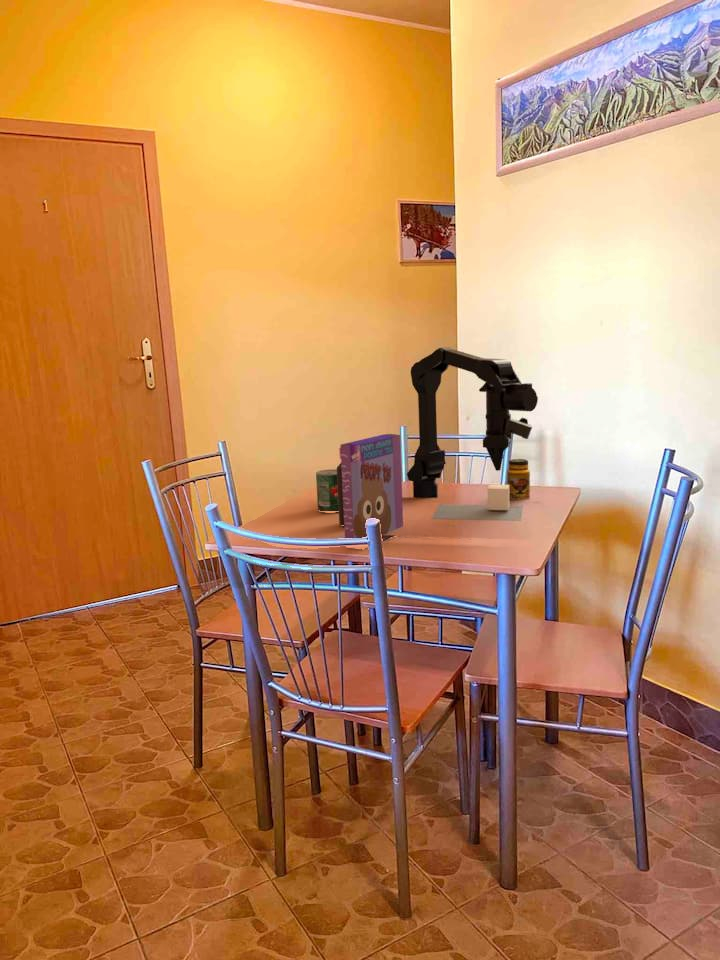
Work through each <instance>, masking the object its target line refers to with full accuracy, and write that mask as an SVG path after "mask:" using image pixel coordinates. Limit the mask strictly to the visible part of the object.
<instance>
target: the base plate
mask: <svg viewBox="0 0 720 960" xmlns="http://www.w3.org/2000/svg"><path fill="white" fill-rule="evenodd" d="M523 508H524V506H523V505H519V504H518V505H517V504H515V505H513V504H512V505H511V504H509V510H503V511H495V510H488V504H451V503H450V504H449V503H447V504H446V503H445V504H443V503H442V504H439V506H438V507H437V508H436V510H435V511H434V513H433V515H432V517H431V520H463V521H464V520H465V521H466V520H467V521H468V520H469V521H472V520H473V521H515V522H516V521H520V522H521V521H522V516H523V515H522V514H523Z"/></svg>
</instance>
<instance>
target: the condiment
mask: <svg viewBox="0 0 720 960" xmlns="http://www.w3.org/2000/svg"><path fill="white" fill-rule="evenodd" d="M530 473H531V472H530V469H529V461H528V459H526V458H525V459H524V458H516V459H515V458H514V459H510V460H509V461H508V470H507V473H506V474H507V475H506V476H507V477H506V478H507V482H506V483H507V484H506V485H509V500H530V497H531V496H530V495H531V494H530V493H531V491H530V490H531V489H530V488H531V485H530V482H531V480H530V479H531V478H530V477H531V476H530V475H531V474H530ZM536 502H537V501H534V503H536Z"/></svg>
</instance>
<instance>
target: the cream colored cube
mask: <svg viewBox="0 0 720 960" xmlns="http://www.w3.org/2000/svg"><path fill="white" fill-rule="evenodd" d="M487 505H488V510H509V505H510V499H509V485H508V484H488V486H487Z"/></svg>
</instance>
